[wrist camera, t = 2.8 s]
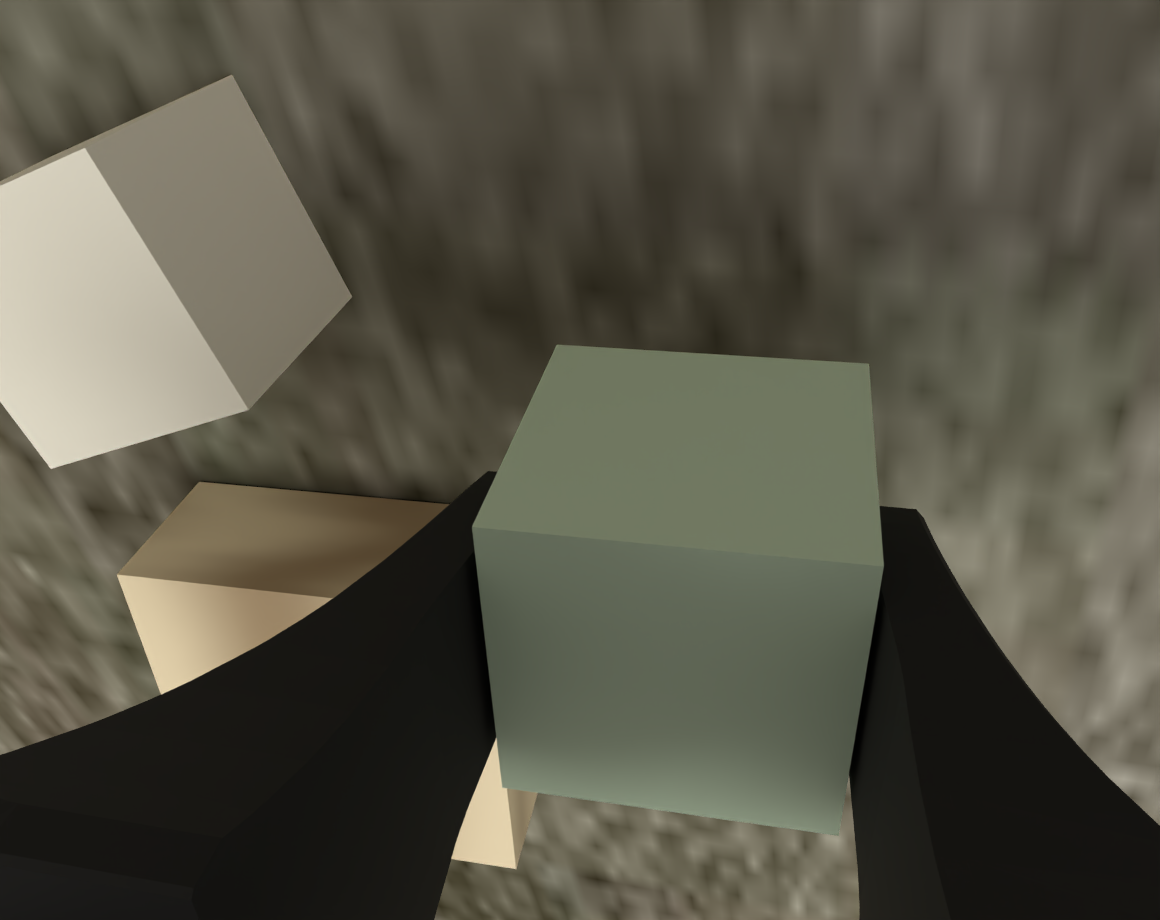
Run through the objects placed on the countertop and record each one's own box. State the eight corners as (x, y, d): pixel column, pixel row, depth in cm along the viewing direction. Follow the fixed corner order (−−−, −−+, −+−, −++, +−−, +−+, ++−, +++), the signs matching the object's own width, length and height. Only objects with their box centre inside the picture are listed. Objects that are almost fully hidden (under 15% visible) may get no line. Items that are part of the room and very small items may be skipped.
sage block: (869, 364, 13) (883, 566, 10) (836, 604, 15) (838, 835, 12) (557, 344, 14) (471, 527, 10) (568, 577, 16) (502, 787, 12)
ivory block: (234, 72, 16) (84, 148, 13) (353, 295, 18) (248, 410, 15) (54, 155, 18) (-122, 240, 14) (180, 353, 20) (50, 468, 16)
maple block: (528, 511, 20) (486, 615, 17) (547, 756, 24) (516, 869, 21) (198, 481, 21) (117, 574, 19) (268, 718, 25) (207, 820, 22)
